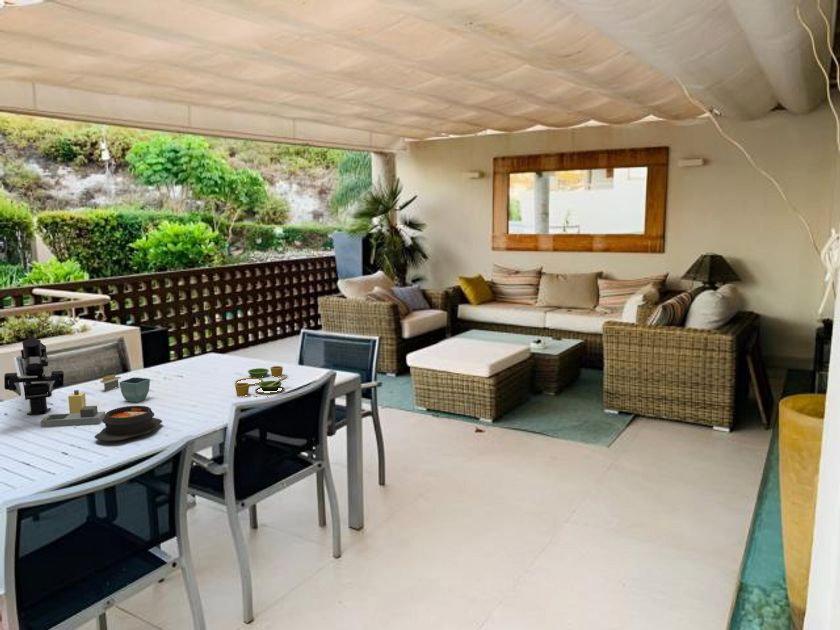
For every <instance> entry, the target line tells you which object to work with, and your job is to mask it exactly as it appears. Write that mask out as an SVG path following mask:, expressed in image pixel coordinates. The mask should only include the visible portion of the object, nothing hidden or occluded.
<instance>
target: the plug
mask: <svg viewBox="0 0 840 630" xmlns="http://www.w3.org/2000/svg"><path fill="white" fill-rule="evenodd" d="M67 398H68V408H69V413H80V409H82V408H83V407H84V406H87V402H86V401H87V400H86V392H80V391H79V389H75V390H73V392H72V393H71V394H69V395H68V396H67Z"/></svg>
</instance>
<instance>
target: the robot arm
mask: <svg viewBox="0 0 840 630" xmlns="http://www.w3.org/2000/svg"><path fill="white" fill-rule="evenodd" d="M41 341H42V340H41V339H39V338H35V337H34V336H32V337H31V336H29V337H28V338H26V339H25V340H23V341H22V343H21V344H22V349H20V354H21V360H24V368H25V369H24V373H25V374H24V375H18V372H7V373H5V374H4V376H3V377H4V389H5V390H9V391H12V392H14V393H16V394H17V395H18V396H19V397H21V395H22V391H21V385H20V383H25V384H23V392H24V393H23V394H24V400H25V401H27V400H29V409H30V411H29V412H27V413H26V415H27V416H28V415H31V416H33V415H45V414H46V413H48V412H49V411H51V407H48V402H47V398H51V397H52V396H53V394H52V392H54V391H55V390H56V389H59V388H61V387H63V386H64V378H65V375H64V374H65V373H64V371H63V370H51V375H50V376H46V374H44V371H45V370H44V367H48V366H49V357H48V354H47V346H46V345H45V344H44V343H42V342H41Z"/></svg>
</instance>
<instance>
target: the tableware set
mask: <svg viewBox="0 0 840 630" xmlns="http://www.w3.org/2000/svg"><path fill="white" fill-rule="evenodd" d="M269 369H270V370H269ZM269 372H271V377H272V376H274V377H278V376H281V375H282V376H281V377H280V378H281V379H280V378H279V377H278V379H277V380H266V381H265V380H264V379H262V378H263V377H262V376H265V375H266V376H267V374H268V373H269ZM283 372H284V371H283V366H282V365H276V366H275V365H274V366H271V367H270V368H265V367H264V368H263V367H262V368H259V367H258V368H252V369H249V370H248V371H247V373H248V374H249V375H250V376H252V377H246V378H239V379H237V380H235V381H234V383H235V385H234V388H235V393H236V397H238V396H245V395H248V396H249V389H250V386H249V385H254V386H256V385H255V384H258V386H259V387H256V388H255V390H254V391H255V392H256V394H258V393H260V394H259V395H262V394H272V395H278V394H281V393H283V392H284V391H285V386H281V385H283V384H282V382H283V380H286V379H288V375H287V376H285V375H283ZM266 376H265V377H266ZM253 377H262V378H253ZM274 377H273V378H274ZM246 379H259V380H261V382H259V383H255V384H248V383H237V382H238V381H241V380H246ZM260 388H262V390H263V391H277V390H278V388H282V390H281V391H277V392H270V393H264V392H258V391H257V390H258V389H260ZM277 393H278V394H277ZM266 396H267V397H266V398H269V397H268V396H269V395H266Z"/></svg>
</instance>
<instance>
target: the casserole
mask: <svg viewBox="0 0 840 630" xmlns="http://www.w3.org/2000/svg"><path fill="white" fill-rule="evenodd" d="M154 416H155V413H154V412H153V411H152V409H151V407H150V406H146V405H128V406H122V407H116V408H114V409H111V410H109V411H107V412H105V417H104V419H103V420H102V423H104V426H105V427H104V428H102V429H101V430H100V432H98V433H97V434H95V435H94V439H96V440H97V441H102V442H103V441H104V442H119V441H125V440H127V439H133V438H138V437H141V436H144V435H146V434H149V433H152V432H153V431H155V430H156V429H157V428H158V426H159V425H160V424H162V422H163V420H162V419H160V418H158V417H154Z"/></svg>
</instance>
